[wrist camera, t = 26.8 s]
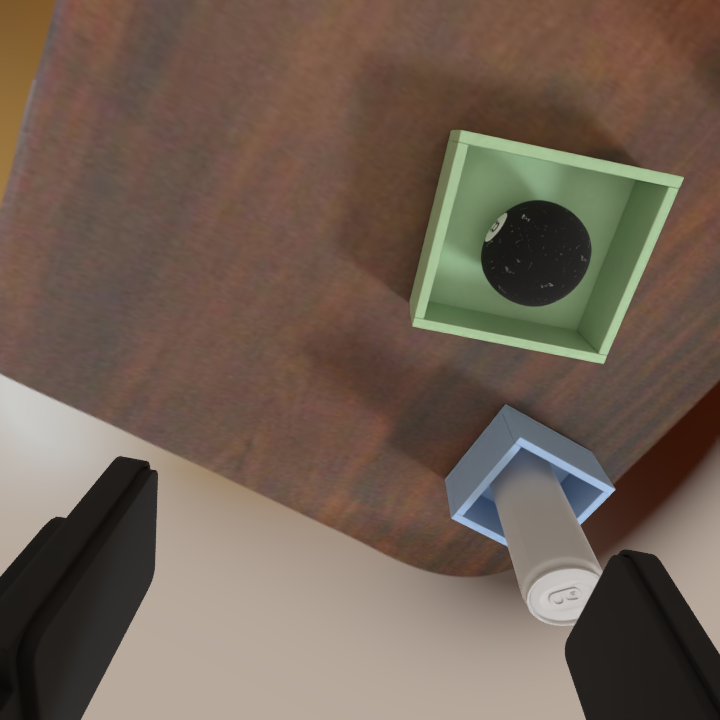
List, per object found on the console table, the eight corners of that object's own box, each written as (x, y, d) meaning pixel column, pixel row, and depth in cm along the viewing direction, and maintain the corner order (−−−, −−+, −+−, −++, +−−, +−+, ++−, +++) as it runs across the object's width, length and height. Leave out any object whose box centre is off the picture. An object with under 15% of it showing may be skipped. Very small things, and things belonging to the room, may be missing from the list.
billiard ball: (527, 305, 35) (554, 338, 29) (456, 257, 34) (469, 282, 28) (590, 230, 32) (631, 250, 27) (516, 175, 31) (543, 185, 26)
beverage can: (557, 483, 40) (620, 614, 30) (498, 502, 41) (538, 636, 31) (538, 435, 39) (598, 556, 28) (477, 457, 40) (512, 581, 29)
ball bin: (451, 129, 31) (461, 129, 27) (644, 170, 31) (684, 177, 27) (408, 303, 36) (412, 326, 31) (578, 337, 36) (603, 364, 32)
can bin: (505, 403, 38) (520, 436, 34) (591, 451, 40) (616, 489, 36) (444, 479, 42) (450, 518, 37) (526, 521, 43) (541, 563, 39)
